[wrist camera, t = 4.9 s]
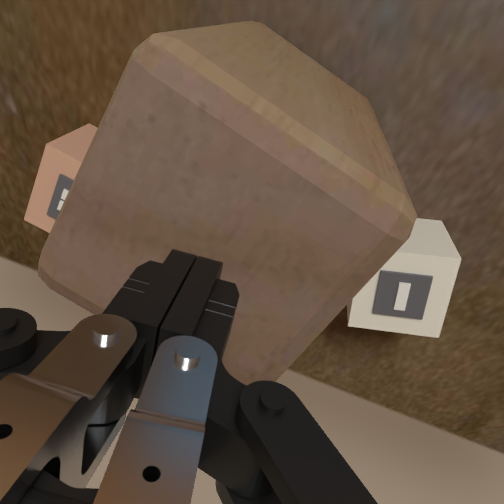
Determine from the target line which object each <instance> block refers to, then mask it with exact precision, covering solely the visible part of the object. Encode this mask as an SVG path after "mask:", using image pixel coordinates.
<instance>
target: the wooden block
mask: <svg viewBox="0 0 504 504" xmlns="http://www.w3.org/2000/svg"><path fill="white" fill-rule="evenodd" d="M416 218H417V214H416V212H415V209H414V207H413V204H412V202H411V200H410V197H409V195H408V192H407V190H406V188H405V185H404V183H403V180H402V178H401V175H400V173H399V171H398V168H397V166H396V163H395V161H394V159H393V156H392V154H391V151H390V149H389V147H388V144H387V142H386V139H385V137H384V135H383V132H382V130H381V127H380V125H379V123H378V120H377V118H376V115H375V113H374V110H373V108H372V106H371V105H370V103H369V101H368V100H367V98H366V97H364V96H363V95H362V94H360V93H359V92H357V91H356V90H355V89H353V88H352V87H350V86H349V85H348V84H346V83H345V82H343V81H342V80H341V79H339V78H338V77H336V76H335V75H334V74H332V73H331V72H329V71H328V70H327V69H325V68H324V67H323V66H321V65H320V64H318V63H317V62H316V61H314V60H313V59H311V58H310V57H309V56H307V55H306V54H304V53H303V52H302V51H300V50H299V49H297V48H296V47H295V46H293V45H292V44H291V43H289V42H288V41H286V40H285V39H284V38H282V37H281V36H279V35H278V34H277V33H275V32H274V31H272V30H271V29H270V28H268V27H267V26H265V25H264V24H263V23H259V22H254V21H244V22H237V23H229V24H222V25H214V26H207V27H199V28H192V29H184V30H177V31H169V32H162V33H154V34H152V35H151V36H150V37H148V38H147V39H146V40H145V41H144V42H143V43H141V44H140V45H139V46H138V47H137V48H136V49H134V50H133V52H132V54H131V57H130V59H129V61H128V63H127V65H126V68H125V70H124V72H123V74H122V76H121V78H120V81H119V83H118V85H117V87H116V89H115V92H114V94H113V96H112V98H111V100H110V103H109V105H108V107H107V109H106V111H105V113H104V116H103V118H102V120H101V122H100V124H99V127H98V129H97V131H96V133H95V135H94V137H93V140H92V142H91V144H90V146H89V148H88V151H87V153H86V155H85V157H84V159H83V162H82V164H81V166H80V168H79V170H78V172H77V175H76V177H75V179H74V181H73V183H72V186H71V188H70V190H69V192H68V194H67V196H66V199H65V201H64V203H63V205H62V207H61V210H60V212H59V214H58V216H57V218H56V221H55V223H54V225H53V227H52V229H51V231H50V234H49V236H48V238H47V240H46V242H45V245H44V247H43V249H42V252H41V256H40V260H39V264H38V275H39V277H40V278H41V279H42V280H43V281H44V282H45V284H46V285H47V286H48V287H49V288H50V289H52V290H54V291H55V292H57V293H59V294H60V295H62V296H64V297H66V298H67V299H69V300H71V301H72V302H74V303H76V304H77V305H79V306H81V307H82V308H84V309H86V310H88V311H89V312H91V313H93V314H94V315H98V314H102V313H103V311H104V310H105V309H106V307H107V306H108V305H109V303H110V302H111V301H112V299H113V298H114V297H115V295H116V294H117V293H118V291H119V290H120V289H121V287H123V285H124V283H125V282H126V281H127V279H129V277H130V275H131V274H132V273H133V271H134V270H135V269H136V267H138V266H140V265H142V264H144V263H146V262H148V261H150V260H151V261H155V262H159V263H162V264H163V262H164V261H165V259H166V258H167V256H168V255H169V253H170V252H171V250H172V249H176V250H179V251H183V252H187V253H190V254H194V255H197V258H198V256H201V257H205V258H209V259H212V260H216V261H220V262H223V267H222V272H221V276H220V279H221V280H225V281H228V282H232V283H236V286H237V289H238V292H239V295H240V296H239V300H238V304H237V308H236V311H235V315H234V319H233V323H232V327H231V331H230V335H229V338H228V341H227V345H226V348H225V351H224V354H223V358H222V363H223V365H224V367H225V369H226V370H227V371H228V373H229V374H230V375H231V376H233V377H234V378H235V379H237V380H238V381H240V382H241V383H243V384H245V385H249V384H251V383H253V382H256V381H263V380H266V381H273V382H275V381H276V380H277V379H278V378H279V377H280V376H281V375H282V374H283V373H284V372H285V370H287V368H288V367H289V366H290V365H291V364H292V363H293V362H294V361H295V360H296V359H297V358H298V357H299V356H300V354H301V353H302V352H303V351H304V350H305V349H306V348H307V347H308V346H309V345H310V344H311V343H312V342H313V341H314V339H315V338H316V337H317V336H318V335H319V334H320V333H321V332H322V331H323V330H324V329H325V328H326V327H327V326H328V324H329V323H330V322H331V321H332V320H333V319H334V318H335V317H336V316H337V315H338V314H339V313H340V312H341V311H342V309H343V308H344V307H345V306H346V305H347V304H348V303H349V302H350V301H351V300H352V299H353V298H354V297H355V296H356V294H357V293H358V292H359V291H360V290H361V289H362V288H363V287H364V286H365V285H366V284H367V283H368V282H369V280H370V279H371V278H372V277H373V276H374V275H375V274H376V273H377V272H378V271H379V270H380V269H381V268H382V267H383V265H384V264H385V263H386V262H387V261H388V260H389V259H390V258H391V257H392V256H393V255H394V254H395V253H396V252H397V250H398V249H399V248H400V247H401V246H402V245H403V244H404V243H405V242H406V241H407V240H408V239H409V237H410V234H411V232H412V229H413V226H414V224H415V221H416Z"/></svg>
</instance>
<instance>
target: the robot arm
mask: <svg viewBox="0 0 504 504" xmlns="http://www.w3.org/2000/svg"><path fill="white" fill-rule="evenodd" d="M222 267H223V262H220V261H216V260H212V259H209V258H205V257H201V256H198V258H197V255H194V254H190V253H187V252H183V251H179V250H176V249H172V250H171V252H170V253H169V255H168V256H167V258H166V259H165V261H164V262H163V264H162V263H159V262H155V261H151V260H150V261H148V262H146V263H144V264H142V265H140V266H138V267H136V269H135V270H134V271H133V273H132V274H131V275H130V277H129V279H127V281H126V282H125V283H124V285H123V287H121V289H120V290H119V291H118V293H117V294H116V295H115V297H114V298H113V299H112V301H111V302H110V303H109V305H108V306H107V307H106V309H105V310H104V311H103V313H102V314H98V315H93V316H89V317H87V318H85V319H83V320H82V321H80V322H79V323H78V324H77V325H76V326H75V327H74V329H72V330H71V331H42V330H37V324H36V321H35V319H34V318H33V317H32V316H31V315H30V314H29V313H27V312H25V311H22V310H18V309H13V308H0V504H190V503H191V498H192V493H193V488H194V483H195V478H196V473H197V468H199V469H201V470H202V471H204V472H205V473H207V474H208V475H210V476H211V477H213V478H214V479H216V490H217V492H218V495H219V497H220V499H221V501H222V503H223V504H377V502H376V501H375V499H374V498H373V497H372V495H371V494H370V493H369V491H368V490H367V489H366V487H365V486H364V485H363V483H362V482H361V481H360V479H359V478H358V477H357V475H356V474H355V473H354V471H353V470H352V469H351V468H350V466H349V465H348V463H347V462H346V461H345V459H344V458H343V457H342V455H341V454H340V453H339V451H338V450H337V449H336V447H335V446H334V445H333V443H332V442H331V441H330V439H329V438H328V437H327V435H326V434H325V433H324V431H323V430H322V429H321V427H320V426H319V425H318V423H317V422H316V421H315V419H314V418H313V417H312V415H311V414H310V413H309V411H308V410H307V409H306V407H305V406H304V405H303V403H302V402H301V401H300V399H299V398H298V397H297V396H296V394H295V393H294V392H293V391H291V390H290V389H289V388H287V387H286V386H284V385H282V384H279V383H277V382H273V381H266V380H263V381H256V382H253V383H251V384H249V385H245V384H243V383H241V382H240V381H238V380H237V379H235V378H234V377H233V376H231V375H230V374H229V373H228V371H227V370H226V369H225V367H224V365H223V363H222V358H223V354H224V351H225V348H226V345H227V341H228V338H229V335H230V331H231V327H232V323H233V319H234V315H235V311H236V308H237V304H238V300H239V296H240V295H239V292H238V289H237V286H236V283H232V282H228V281H225V280H221V279H220V276H221V272H222ZM134 398H138V399H139V400H138V403H137V405H136V408H135V410H132V409H131V410H130V412H129V414H128V416H127V418H126V412H127V410H128V409H129V407H130V405H131V403H132V401H133V399H134ZM125 418H126V421H125ZM124 421H125V423H124ZM123 424H124V426H123ZM122 426H123V428H122V431H121V433H120V436H119V438H118V441H117V444H116V446H115V449H114V451H113V454H112V456H111V459H110V461H109V464H108V466H107V469H106V472H105V475H104V477H103V480H102V482H101V484H100V487H99V489H90V488H85V487H86V485H87V484H88V482H89V480H90V479H91V477H92V475H93V474H94V472H95V470H96V469H97V467H98V465H99V464H100V462H101V460H102V459H103V457H104V455H105V454H106V452H107V450H108V449H109V447H110V446H111V444H112V442H113V441H114V439H115V437H116V436H117V434H118V432H119V431H120V429H121V427H122Z"/></svg>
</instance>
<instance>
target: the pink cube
mask: <svg viewBox="0 0 504 504" xmlns="http://www.w3.org/2000/svg"><path fill="white" fill-rule="evenodd" d="M97 129H98V128H97V127H95V126H93V125H91V124H87V125H85V126H83V127H81V128H79V129H77V130H74V131H72V132H70V133H68V134H66V135H64V136H62V137H60V138H58V139H55V140H53V141H51V142H49V143H47V144H46V147H45V151H44V154H43V157H42V161H41V164H40V167H39V171H38V174H37V177H36V181H35V184H34V187H33V191H32V194H31V197H30V201H29V204H28V207H27V211H26V214H25V217H24V220H25V221H27V222H29V223H31V224H33V225H35V226H37V227H39V228H41V229H43V230H45V231H47V232H49V233H50V231H51V229H52V227H53V225H54V223H55V221H56V218H57V216H58V214H59V212H60V210H61V207H62V205H63V203H64V201H65V199H66V196H67V194H68V192H69V190H70V188H71V186H72V183H73V181H74V179H75V177H76V175H77V172H78V170H79V168H80V166H81V164H82V162H83V159H84V157H85V155H86V153H87V151H88V148H89V146H90V144H91V142H92V140H93V137H94V135H95V133H96V131H97Z"/></svg>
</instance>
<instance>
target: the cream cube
mask: <svg viewBox="0 0 504 504" xmlns="http://www.w3.org/2000/svg"><path fill="white" fill-rule="evenodd" d="M460 262H461V257H460V255H459V253H458V251H457V249H456V247H455V246H454V244H453V242H452V240H451V238H450V236H449V234H448V232H447V230H446V228H445V226H444V224H443V223H442V221H438V220H428V219H418V218H416V221H415V224H414V226H413V229H412V232H411V234H410V237H409V239H408V240H407V241H406V242H405V243H404V244H403V245H402V246H401V247H400V248H399V249H398V250H397V252H396V253H395V254H394V255H393V256H392V257H391V258H390V259H389V260H388V261H387V262H386V263H385V264H384V265H383V267H382V268H381V269H380V270H379V271H378V272H377V273H376V274H375V275H374V276H373V277H372V278H371V279H370V280H369V282H368V283H367V284H366V285H365V286H364V287H363V288H362V289H361V290H360V291H359V292H358V293H357V294H356V296H355V297H354V298H353V299H352V300H351V301H350V302H349V303H348V304H347V317H348V326H350V327H357V328H365V329H373V330H381V331H389V332H397V333H404V334H412V335H420V336H428V337H436V338H439V335H440V332H441V328H442V325H443V321H444V318H445V314H446V311H447V307H448V304H449V300H450V297H451V293H452V290H453V286H454V283H455V279H456V276H457V272H458V269H459V265H460Z"/></svg>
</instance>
